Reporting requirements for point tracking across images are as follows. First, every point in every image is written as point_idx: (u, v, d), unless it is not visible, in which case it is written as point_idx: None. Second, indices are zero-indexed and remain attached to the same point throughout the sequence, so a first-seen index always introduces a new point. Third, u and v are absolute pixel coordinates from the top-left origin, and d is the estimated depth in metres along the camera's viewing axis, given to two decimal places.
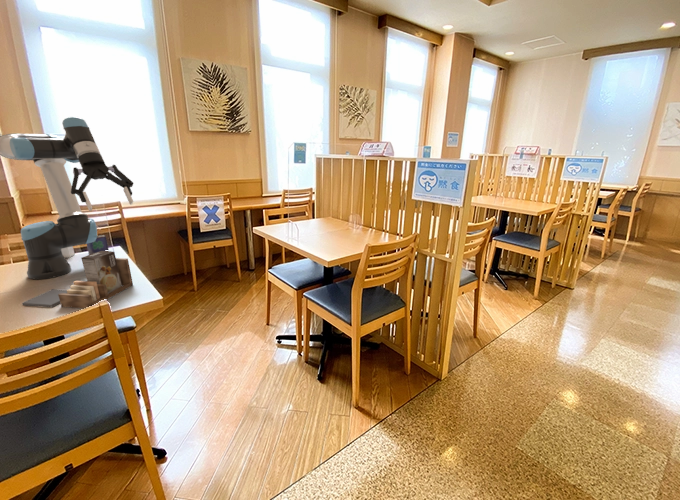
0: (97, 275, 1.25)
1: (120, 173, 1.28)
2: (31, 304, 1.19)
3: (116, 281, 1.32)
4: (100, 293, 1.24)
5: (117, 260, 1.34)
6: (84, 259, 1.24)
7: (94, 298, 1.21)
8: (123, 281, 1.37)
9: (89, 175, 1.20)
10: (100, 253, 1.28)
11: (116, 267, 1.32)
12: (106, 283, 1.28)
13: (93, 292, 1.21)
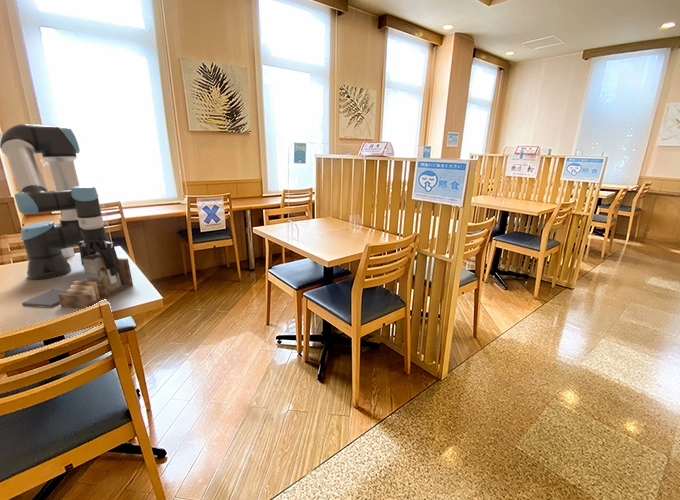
0: (97, 275, 1.25)
1: (109, 253, 1.25)
2: (31, 304, 1.19)
3: None
4: (100, 293, 1.24)
5: None
6: (84, 259, 1.24)
7: (94, 298, 1.21)
8: (123, 281, 1.37)
9: (88, 251, 1.25)
10: None
11: (116, 267, 1.32)
12: (106, 283, 1.28)
13: (93, 292, 1.21)
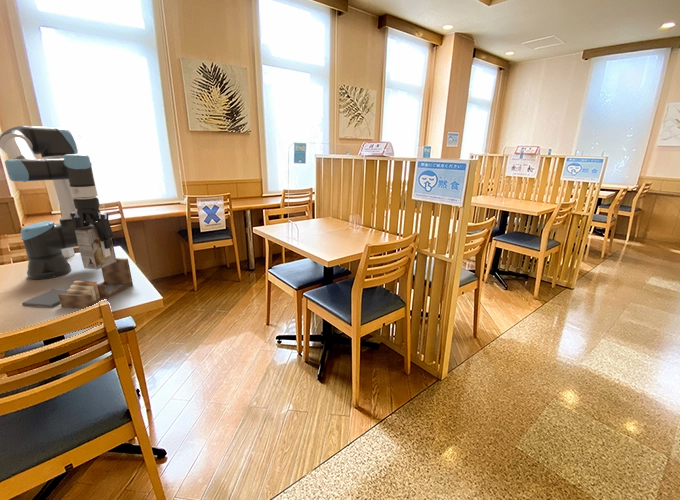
0: (90, 247, 1.22)
1: (103, 225, 1.22)
2: (31, 304, 1.19)
3: None
4: (100, 293, 1.24)
5: (117, 260, 1.34)
6: (77, 230, 1.20)
7: (94, 298, 1.21)
8: (123, 281, 1.37)
9: (81, 222, 1.22)
10: None
11: (110, 240, 1.29)
12: (100, 256, 1.25)
13: (93, 292, 1.21)
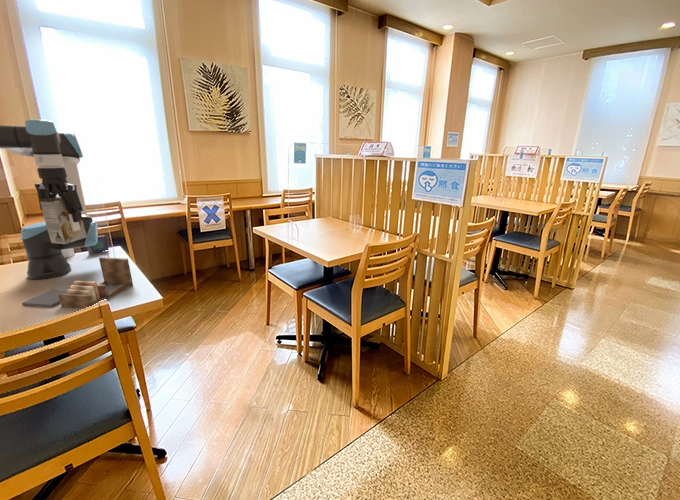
0: (57, 220, 1.15)
1: (70, 196, 1.16)
2: (31, 304, 1.19)
3: None
4: (100, 293, 1.24)
5: (117, 260, 1.34)
6: (42, 202, 1.14)
7: (94, 298, 1.21)
8: (123, 281, 1.37)
9: (47, 193, 1.15)
10: None
11: (80, 214, 1.22)
12: (68, 230, 1.19)
13: (93, 292, 1.21)
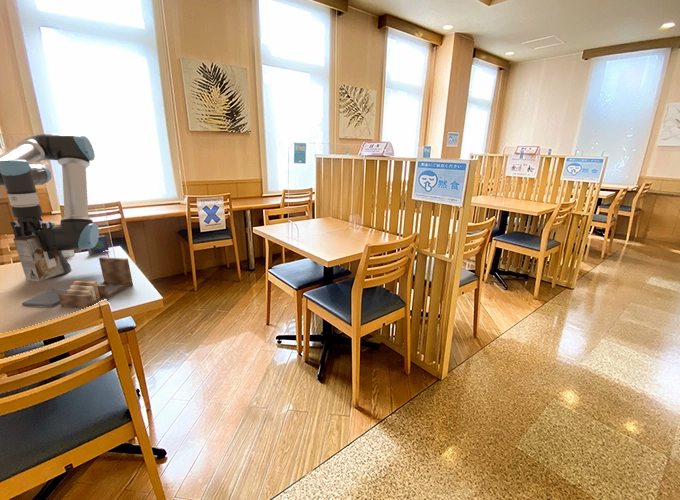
0: (31, 258, 1.15)
1: (45, 234, 1.15)
2: (31, 304, 1.19)
3: None
4: (100, 293, 1.24)
5: (117, 260, 1.34)
6: (16, 240, 1.13)
7: (94, 298, 1.21)
8: (123, 281, 1.37)
9: (22, 231, 1.15)
10: None
11: (56, 250, 1.22)
12: (43, 267, 1.18)
13: (93, 292, 1.21)
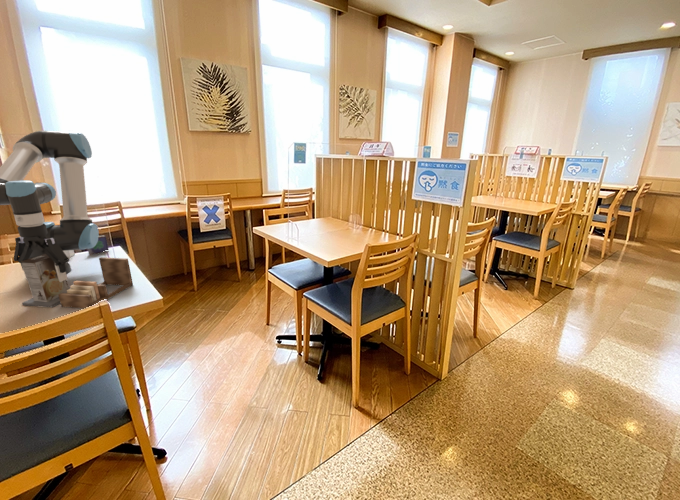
0: (39, 280, 1.17)
1: (52, 250, 1.17)
2: (31, 304, 1.19)
3: (62, 285, 1.25)
4: (100, 293, 1.24)
5: (117, 260, 1.34)
6: (24, 263, 1.16)
7: (94, 298, 1.21)
8: (123, 281, 1.37)
9: (25, 249, 1.17)
10: (43, 256, 1.21)
11: None
12: (50, 288, 1.21)
13: (93, 292, 1.21)
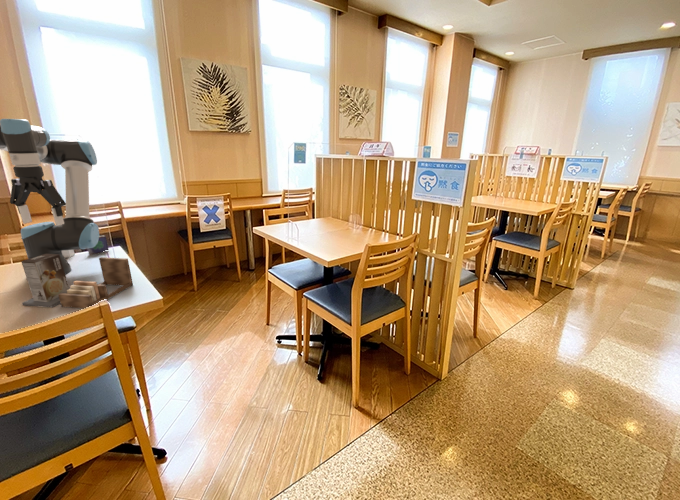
0: (39, 280, 1.17)
1: (49, 191, 1.16)
2: (31, 304, 1.19)
3: (62, 285, 1.25)
4: (100, 293, 1.24)
5: (117, 260, 1.34)
6: (24, 263, 1.16)
7: (94, 298, 1.21)
8: (123, 281, 1.37)
9: (21, 190, 1.16)
10: (43, 256, 1.21)
11: (62, 271, 1.25)
12: (50, 288, 1.21)
13: (93, 292, 1.21)
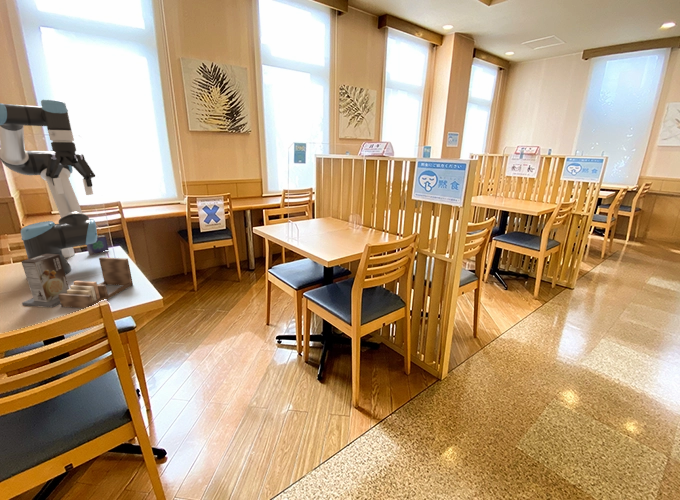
0: (39, 280, 1.17)
1: (81, 164, 1.32)
2: (31, 304, 1.19)
3: (62, 285, 1.25)
4: (100, 293, 1.24)
5: (117, 260, 1.34)
6: (24, 263, 1.16)
7: (94, 298, 1.21)
8: (123, 281, 1.37)
9: (57, 163, 1.33)
10: (43, 256, 1.21)
11: (62, 271, 1.25)
12: (50, 288, 1.21)
13: (93, 292, 1.21)
